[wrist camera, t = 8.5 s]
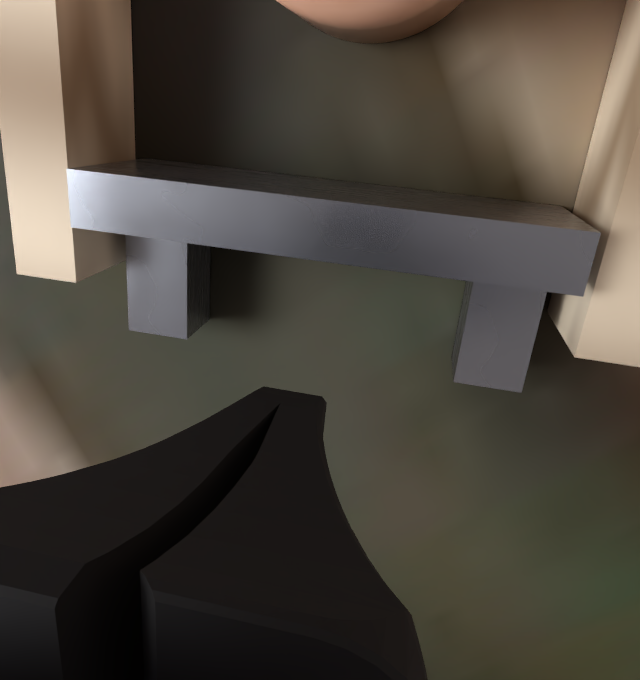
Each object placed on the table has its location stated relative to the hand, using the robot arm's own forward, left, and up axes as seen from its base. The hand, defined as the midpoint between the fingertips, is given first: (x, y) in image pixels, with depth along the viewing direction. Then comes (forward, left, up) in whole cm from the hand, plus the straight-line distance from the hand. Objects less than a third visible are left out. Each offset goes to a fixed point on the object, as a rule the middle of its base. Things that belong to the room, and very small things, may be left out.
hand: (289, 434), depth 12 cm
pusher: (+3, 0, -5) cm, 5 cm away
